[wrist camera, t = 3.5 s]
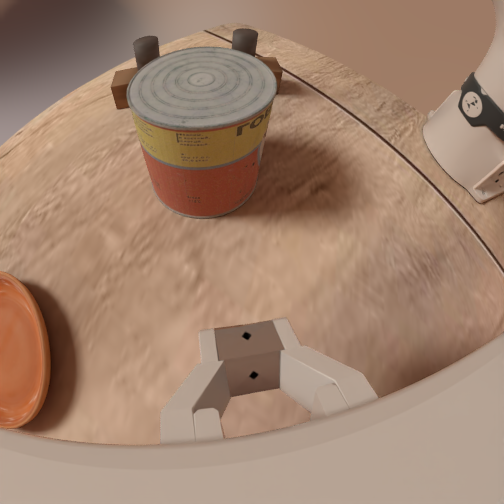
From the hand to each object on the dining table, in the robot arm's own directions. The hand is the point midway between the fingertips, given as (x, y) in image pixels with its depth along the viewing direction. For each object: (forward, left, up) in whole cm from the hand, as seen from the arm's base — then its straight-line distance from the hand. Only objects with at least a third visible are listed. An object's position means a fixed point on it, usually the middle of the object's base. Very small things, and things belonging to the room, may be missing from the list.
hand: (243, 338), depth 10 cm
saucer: (+24, -1, -15) cm, 28 cm away
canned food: (0, -18, -15) cm, 23 cm away
